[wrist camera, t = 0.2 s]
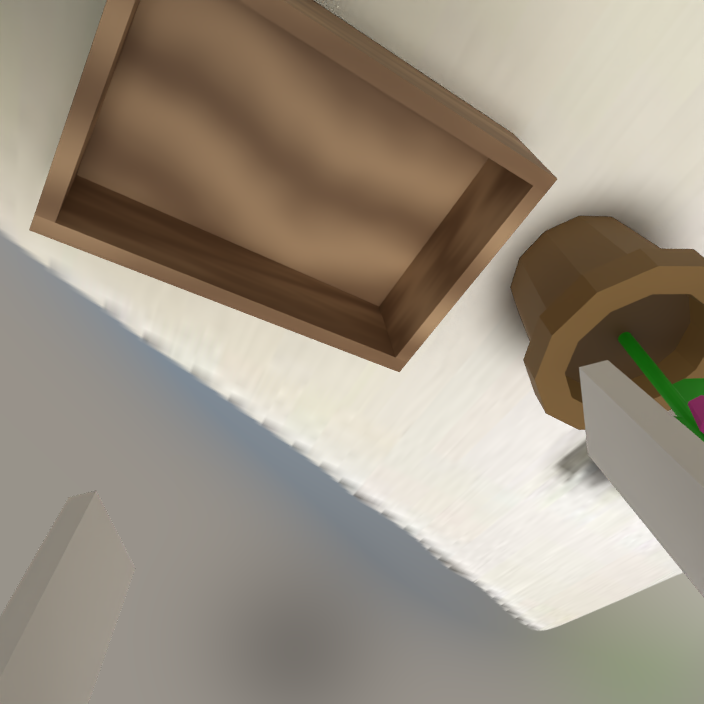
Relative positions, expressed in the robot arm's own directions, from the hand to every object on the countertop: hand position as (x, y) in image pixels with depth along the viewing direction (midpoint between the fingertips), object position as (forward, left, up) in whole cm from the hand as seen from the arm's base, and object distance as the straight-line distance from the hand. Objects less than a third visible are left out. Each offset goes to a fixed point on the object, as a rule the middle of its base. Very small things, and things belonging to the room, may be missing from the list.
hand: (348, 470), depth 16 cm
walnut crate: (+1, +2, -27) cm, 27 cm away
